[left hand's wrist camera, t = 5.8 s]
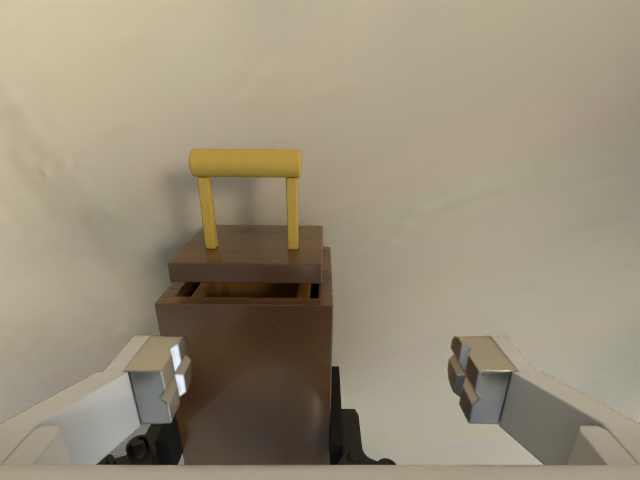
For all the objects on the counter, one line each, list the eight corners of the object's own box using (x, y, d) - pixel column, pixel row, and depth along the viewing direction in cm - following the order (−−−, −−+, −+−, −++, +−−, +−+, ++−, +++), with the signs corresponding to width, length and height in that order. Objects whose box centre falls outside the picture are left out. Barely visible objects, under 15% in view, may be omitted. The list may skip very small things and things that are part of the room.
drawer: (196, 142, 23) (148, 153, 17) (323, 143, 23) (323, 155, 16) (223, 373, 29) (196, 442, 23) (321, 374, 29) (320, 444, 23)
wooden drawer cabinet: (205, 245, 26) (154, 303, 18) (330, 247, 26) (333, 305, 18) (222, 393, 31) (188, 487, 24) (327, 394, 31) (328, 489, 23)
